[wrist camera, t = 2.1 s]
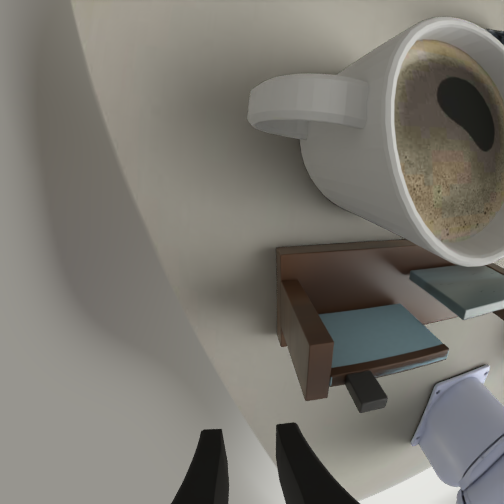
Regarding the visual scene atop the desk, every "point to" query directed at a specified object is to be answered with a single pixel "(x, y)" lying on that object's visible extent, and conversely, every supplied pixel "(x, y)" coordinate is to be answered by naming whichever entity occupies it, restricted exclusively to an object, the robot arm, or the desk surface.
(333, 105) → the mug
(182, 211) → the desk surface
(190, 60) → the desk surface
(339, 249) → the window
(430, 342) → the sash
